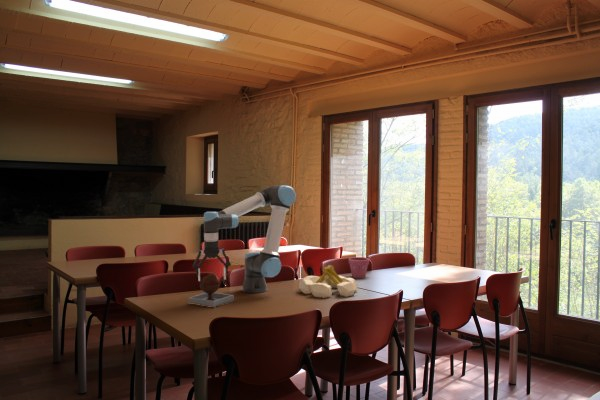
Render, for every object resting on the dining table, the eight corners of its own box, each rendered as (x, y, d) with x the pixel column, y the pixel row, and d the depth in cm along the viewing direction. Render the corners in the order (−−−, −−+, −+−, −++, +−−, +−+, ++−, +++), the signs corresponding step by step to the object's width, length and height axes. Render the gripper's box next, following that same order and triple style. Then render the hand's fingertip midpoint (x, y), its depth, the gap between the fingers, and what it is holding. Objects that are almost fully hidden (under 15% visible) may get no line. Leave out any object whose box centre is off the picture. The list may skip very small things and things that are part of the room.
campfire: (308, 300, 275) (309, 269, 275) (292, 288, 308) (292, 260, 307) (366, 296, 285) (367, 267, 284) (345, 285, 317) (345, 258, 317)
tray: (233, 301, 269) (233, 295, 269) (213, 308, 254) (213, 301, 254) (209, 297, 278) (209, 291, 277) (188, 304, 263) (188, 297, 263)
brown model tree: (221, 298, 272) (221, 271, 271) (218, 303, 260) (218, 274, 260) (201, 298, 271) (201, 271, 271) (198, 303, 260) (198, 275, 260)
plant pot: (358, 274, 355) (358, 256, 354) (373, 277, 344) (373, 258, 344) (344, 276, 346) (344, 258, 345) (359, 279, 335) (359, 260, 334)
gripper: (187, 242, 258) (188, 282, 259) (235, 240, 265) (236, 279, 266) (187, 240, 265) (187, 280, 266) (233, 238, 272) (234, 277, 273)
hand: (212, 279), depth 266 cm, fingers open, 13 cm apart
